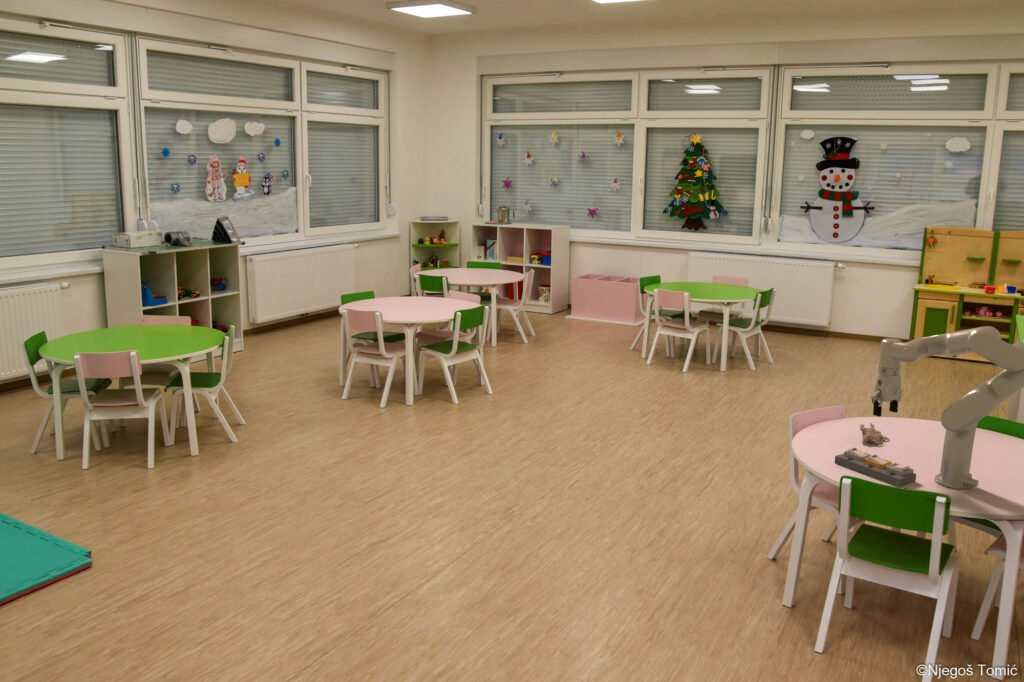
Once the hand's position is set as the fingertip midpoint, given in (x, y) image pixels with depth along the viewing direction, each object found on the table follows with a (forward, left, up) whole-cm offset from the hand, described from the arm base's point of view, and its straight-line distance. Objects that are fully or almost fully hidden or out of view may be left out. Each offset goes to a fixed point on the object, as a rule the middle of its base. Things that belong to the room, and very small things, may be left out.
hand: (885, 413), depth 324 cm
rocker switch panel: (-4, +9, -21) cm, 23 cm away
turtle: (+19, -22, -21) cm, 36 cm away
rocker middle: (-4, +7, -16) cm, 18 cm away
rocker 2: (-13, +7, -16) cm, 22 cm away
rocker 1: (+5, +7, -16) cm, 19 cm away
